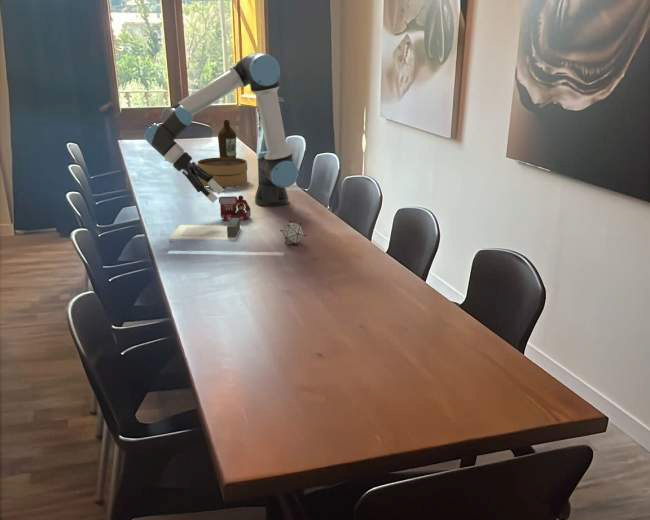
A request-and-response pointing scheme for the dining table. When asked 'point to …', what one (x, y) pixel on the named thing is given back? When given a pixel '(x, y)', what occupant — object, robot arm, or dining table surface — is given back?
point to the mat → (202, 232)
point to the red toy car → (234, 208)
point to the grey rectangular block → (233, 227)
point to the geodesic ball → (293, 233)
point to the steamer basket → (225, 171)
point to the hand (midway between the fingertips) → (218, 196)
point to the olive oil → (227, 141)
